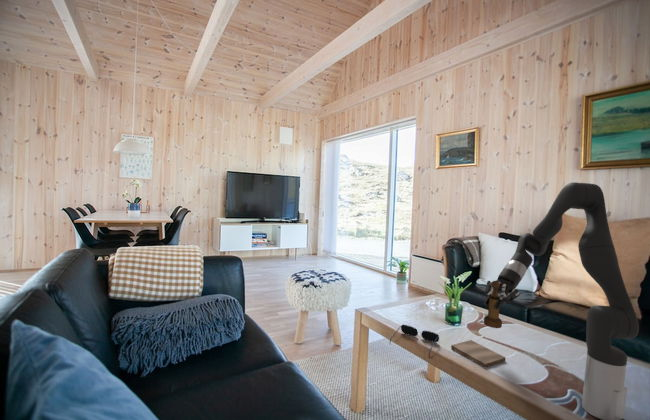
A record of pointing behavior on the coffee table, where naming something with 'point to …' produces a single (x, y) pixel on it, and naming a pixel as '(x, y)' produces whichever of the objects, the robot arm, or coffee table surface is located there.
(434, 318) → the coffee table surface
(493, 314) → the wooden pepper mill
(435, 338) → the sunglasses
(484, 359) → the serving board
